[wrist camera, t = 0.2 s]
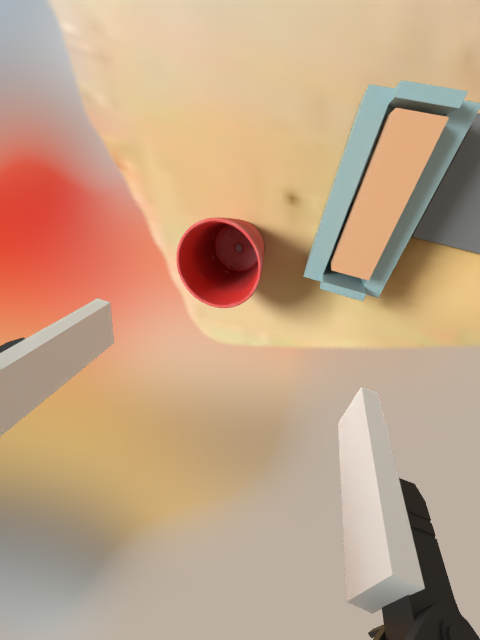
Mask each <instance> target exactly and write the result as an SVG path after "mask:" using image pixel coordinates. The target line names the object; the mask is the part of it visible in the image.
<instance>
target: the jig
mask: <svg viewBox="0 0 480 640" xmlns="http://www.w3.org/2000/svg"><path fill="white" fill-rule="evenodd" d="M467 92H468V91H463V90H457V89H450V88H444V87H438V86H432V85H426V84H420V83H414V82H408V81H402V80H401V81H400V83H399V84H398V85H397V86H396V87H395V89H394V88H388V87H382V86H376V85H370V84H369V86H368V88H367V90H366V92H365V94H364V96H363V98H362V100H361V102H360V105H359V108H358V111H357V114H356V117H355V120H354V123H353V126H352V129H351V132H350V135H349V138H348V141H347V144H346V147H345V150H344V153H343V155H342V158H341V161H340V164H339V167H338V170H337V173H336V176H335V179H334V182H333V185H332V188H331V191H330V194H329V197H328V200H327V203H326V206H325V209H324V212H323V215H322V218H321V221H320V224H319V227H318V230H317V232H316V235H315V238H314V241H313V244H312V247H311V250H310V253H309V256H308V259H307V262H306V267H305V272H304V277H306V278H310V279H313V280H317V281H320V289H322V290H325V291H329V292H332V293H336V294H339V295H343V296H346V297H350V298H353V299H357V300H360V301H363V300H364V298H365V296H366V294H367V295H370V296H374V297H377V298H378V297H379V296H380V294H381V292H382V290H383V288H384V286H385V284H386V282H387V281H388V279H389V277H390V275H391V273H392V271H393V269H394V268H395V266H396V264H397V262H398V260H399V258H400V256H401V254H402V253H403V251H404V249H405V247H406V245H407V243H408V241H409V239H410V238H411V236H412V234H413V232H414V230H415V228H416V226H417V225H418V223H419V221H420V219H421V217H422V215H423V213H424V211H425V210H426V208H427V206H428V204H429V202H430V200H431V198H432V196H433V195H434V193H435V191H436V189H437V187H438V185H439V183H440V181H441V180H442V178H443V176H444V174H445V172H446V170H447V168H448V167H449V165H450V163H451V161H452V159H453V157H454V155H455V153H456V152H457V150H458V148H459V146H460V144H461V142H462V140H463V138H464V137H465V135H466V133H467V131H468V129H469V127H470V125H471V124H472V122H473V120H474V118H475V116H476V114H477V112H478V110H479V109H480V103H476V102H470V101H464V98H465V96H466V94H467ZM395 108H401V109H407V110H412V111H418V112H423V113H429V114H434V115H440V116H446V117H449V119H448V121H447V123H446V125H445V127H444V129H443V131H442V133H441V135H440V137H439V139H438V141H437V143H436V145H435V147H434V149H433V151H432V153H431V155H430V157H429V159H428V161H427V163H426V165H425V167H424V169H423V171H422V173H421V175H420V177H419V179H418V181H417V184H416V186H415V188H414V190H413V192H412V194H411V196H410V198H409V200H408V202H407V204H406V206H405V208H404V210H403V212H402V214H401V216H400V218H399V220H398V222H397V224H396V226H395V228H394V230H393V232H392V234H391V236H390V238H389V240H388V242H387V244H386V246H385V249H384V251H383V253H382V255H381V257H380V259H379V261H378V263H377V265H376V267H375V269H374V271H373V273H372V275H371V277H370V279H369V281H368V280H365V279H361V278H358V277H354V276H350V275H347V274H343V273H339V272H336V271H332V270H331V258H332V255H333V253H334V250H335V248H336V245H337V242H338V240H339V237H340V235H341V232H342V230H343V227H344V224H345V222H346V219H347V217H348V214H349V212H350V209H351V206H352V204H353V201H354V199H355V196H356V194H357V191H358V188H359V186H360V183H361V181H362V178H363V176H364V173H365V170H366V168H367V165H368V163H369V160H370V157H371V155H372V152H373V150H374V147H375V145H376V142H377V139H378V137H379V134H380V132H381V129H382V127H383V124H384V121H385V119H386V116H387V115H389V114H390V113H391V112H392V111H393V110H394V109H395Z"/></svg>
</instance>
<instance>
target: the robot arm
mask: <svg viewBox="0 0 480 640" xmlns="http://www.w3.org/2000/svg"><path fill="white" fill-rule="evenodd" d="M112 344H114V336H113V325H112V315H111V305H110V302H107V301H104V300H101V299H98V298H97V299H95V300H94V301H92V302H90V303H88V304H87V305H85V306H83V307H81V308H80V309H78V310H76V311H74V312H72V313H71V314H69V315H67V316H65V317H64V318H62V319H60V320H58V321H57V322H55V323H53V324H51V325H50V326H48V327H46V328H44V329H42V330H41V331H39V332H37V333H35V334H34V335H32V336H30V337H28V338H26V339H25V338H20V339H17V340H14V341H10V342H7V343H5V344H4V345H2V346H0V436H1V435H3V434H4V433H5V432H6V431H8V430H9V429H10V428H11V427H12V426H14V425H15V424H16V423H17V422H18V421H19V420H21V419H22V418H23V417H25V416H26V415H27V414H28V413H29V412H31V411H32V410H33V409H34V408H35V407H37V406H38V405H39V404H40V403H42V402H43V401H44V400H45V399H47V398H48V397H49V396H50V395H51V394H52V393H54V392H55V391H56V390H58V389H59V388H60V387H61V386H62V385H64V384H65V383H66V382H67V381H68V380H70V379H71V378H72V377H73V376H75V375H76V374H77V373H78V372H80V371H81V370H82V369H83V368H84V367H86V366H87V365H88V364H89V363H91V362H92V361H93V360H94V359H95V358H97V357H98V356H99V355H100V354H101V353H103V352H104V351H105V350H106V349H108V348H109V347H110V346H111V345H112ZM338 432H339V452H340V473H341V494H342V515H343V535H344V556H345V577H346V597H347V602H348V603H350V604H353V605H355V606H357V607H359V608H362V609H364V610H366V611H368V612H370V613H374V612H376V611H378V610H380V609H382V612H383V620H384V625H381V626H379V627H377V628H374V629H373V630H371V631H370V632H369V633H368V634H369V635H370V637H371V638H373V637H374V639H373V640H480V639H479V637H478V635H477V634H476V632H475V631H474V630H473V628H472V627H471V625H470V624H469V623H468V621H467V620H466V619H465V618H464V617H462V616H461V614H460V612H459V610H458V607H457V604H456V602H455V599H454V596H453V593H452V589H451V586H450V583H449V579H448V576H447V573H446V569H445V566H444V562H443V559H442V556H441V553H440V549H439V546H438V542H437V539H435V533H434V529H433V526H432V524H431V523H430V520H431V519H430V516H429V512H428V509H427V506H426V502H425V500H424V499H423V497H422V495H421V494H420V492H419V490H418V489H417V487H416V485H415V484H413V483H411V482H408V481H405V480H403V479H400V478H399V477H398V473H397V468H396V464H395V460H394V456H393V452H392V447H391V443H390V439H389V435H388V431H387V426H386V422H385V418H384V414H383V409H382V405H381V401H380V397H379V393H378V392H376V391H373V390H370V389H367V388H364V387H361V388H360V390H359V391H358V393H357V394H356V396H355V398H354V399H353V401H352V402H351V404H350V405H349V407H348V409H347V410H346V412H345V413H344V415H343V416H342V418H341V420H340V421H339V423H338Z"/></svg>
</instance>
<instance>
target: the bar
mask: <svg viewBox="0 0 480 640" xmlns="http://www.w3.org/2000/svg"><path fill="white" fill-rule="evenodd" d="M448 119H449V117H446V116H440V115H434V114H429V113H423V112H418V111H412V110H407V109H401V108H395V109H394V110H393V111H392V112H391V113H390V114H389V115H387V116H386V119H385V121H384V124H383V127H382V129H381V132H380V134H379V137H378V139H377V142H376V145H375V147H374V150H373V152H372V155H371V157H370V160H369V163H368V165H367V168H366V170H365V173H364V176H363V178H362V181H361V183H360V186H359V188H358V191H357V194H356V196H355V199H354V201H353V204H352V206H351V209H350V212H349V214H348V217H347V219H346V222H345V224H344V227H343V230H342V232H341V235H340V237H339V240H338V242H337V245H336V248H335V250H334V253H333V255H332V258H331V270H332V271H336V272H339V273H343V274H347V275H350V276H354V277H358V278H361V279H365V280H368V281H369V279H370V277H371V275H372V273H373V271H374V269H375V267H376V265H377V263H378V261H379V259H380V257H381V255H382V253H383V251H384V249H385V246H386V244H387V242H388V240H389V238H390V236H391V234H392V232H393V230H394V228H395V226H396V224H397V222H398V220H399V218H400V216H401V214H402V212H403V210H404V208H405V206H406V204H407V202H408V200H409V198H410V196H411V194H412V192H413V190H414V188H415V186H416V184H417V181H418V179H419V177H420V175H421V173H422V171H423V169H424V167H425V165H426V163H427V161H428V159H429V157H430V155H431V153H432V151H433V149H434V147H435V145H436V143H437V141H438V139H439V137H440V135H441V133H442V131H443V129H444V127H445V125H446V123H447V121H448Z"/></svg>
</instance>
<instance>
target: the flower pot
mask: <svg viewBox="0 0 480 640" xmlns="http://www.w3.org/2000/svg"><path fill="white" fill-rule="evenodd" d="M263 261H264V242H263V238H262V236H261V234H260V232H259V231H258V230H257V228H256V227H255V226H253V225H252V224H251V223H249V222H246V221H243V220H238V219H231V218H208V219H204V220H201V221H199V222H197V223H195V224H194V225H192V226H191V227H190V228H189V229H188V230H187V231H186V232H185V233H184V235H183V236H182V238H181V240H180V242H179V245H178V249H177V268H178V272H179V275H180V277H181V280H182V282H183V283H184V285H185V287H186V288H187V289H188V291H189V292H190V293H191V294H192V295H193V296H194V297H196V298H197V299H198V300H200V301H201V302H203V303H205V304H207V305H210V306H213V307H218V308H230V307H235V306H238V305H240V304H242V303H243V302H245V301H246V300H248V299H249V298H250V297H251V296H252V294H253V293H254V292H255V290H256V289H257V287H258V285H259V282H260V279H261V275H262V270H263Z"/></svg>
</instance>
